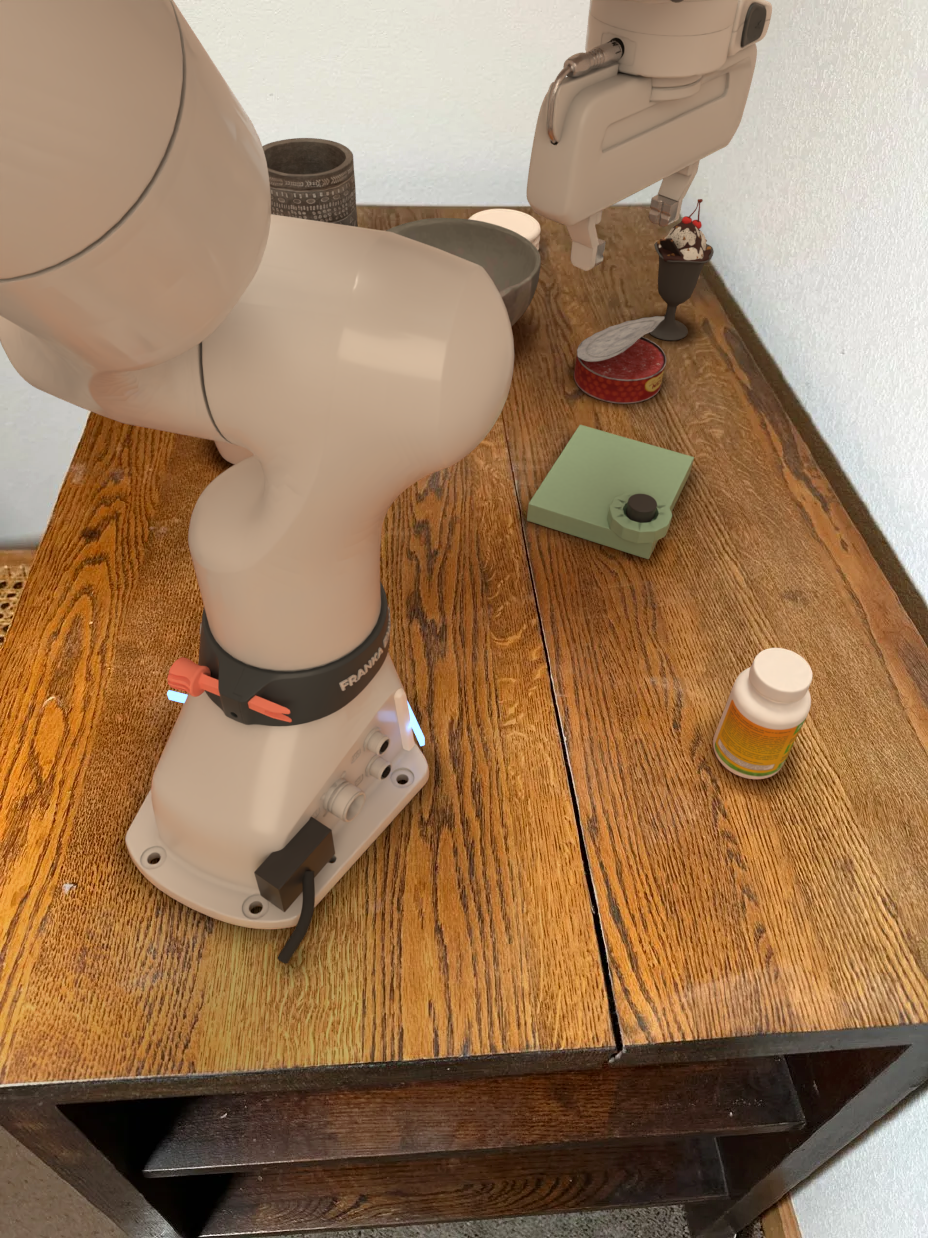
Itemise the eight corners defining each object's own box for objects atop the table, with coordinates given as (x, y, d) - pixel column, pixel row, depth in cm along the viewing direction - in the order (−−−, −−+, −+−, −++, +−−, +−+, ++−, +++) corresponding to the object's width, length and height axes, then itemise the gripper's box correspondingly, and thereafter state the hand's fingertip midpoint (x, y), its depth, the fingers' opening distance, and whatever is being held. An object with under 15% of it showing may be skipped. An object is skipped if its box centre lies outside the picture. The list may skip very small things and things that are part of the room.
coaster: (551, 245, 127) (554, 219, 124) (515, 273, 121) (517, 247, 118) (488, 225, 130) (490, 200, 128) (450, 252, 124) (450, 226, 122)
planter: (367, 274, 120) (362, 171, 110) (272, 284, 117) (258, 179, 108) (350, 232, 127) (344, 133, 118) (260, 241, 125) (247, 140, 116)
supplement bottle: (785, 788, 68) (826, 706, 61) (710, 774, 69) (743, 692, 62) (783, 729, 72) (821, 646, 65) (712, 717, 72) (743, 633, 65)
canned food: (605, 438, 105) (580, 382, 96) (572, 382, 110) (545, 324, 102) (697, 387, 103) (679, 325, 95) (658, 332, 108) (638, 269, 100)
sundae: (690, 316, 115) (718, 192, 104) (698, 345, 110) (728, 218, 99) (636, 314, 115) (658, 190, 104) (642, 343, 110) (666, 216, 99)
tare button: (649, 526, 83) (652, 515, 82) (621, 518, 83) (624, 506, 83) (658, 509, 84) (660, 498, 83) (630, 501, 85) (633, 489, 84)
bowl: (463, 276, 120) (465, 197, 113) (569, 345, 109) (579, 263, 102) (329, 321, 111) (323, 239, 104) (430, 402, 101) (430, 316, 93)
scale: (654, 567, 84) (661, 538, 81) (523, 525, 87) (526, 496, 85) (697, 475, 93) (704, 447, 90) (577, 440, 96) (581, 412, 94)
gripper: (598, 77, 51) (571, 311, 61) (787, 2, 61) (736, 213, 71) (510, 49, 53) (498, 277, 64) (705, -18, 64) (667, 188, 74)
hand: (625, 242), depth 67 cm, fingers open, 8 cm apart
